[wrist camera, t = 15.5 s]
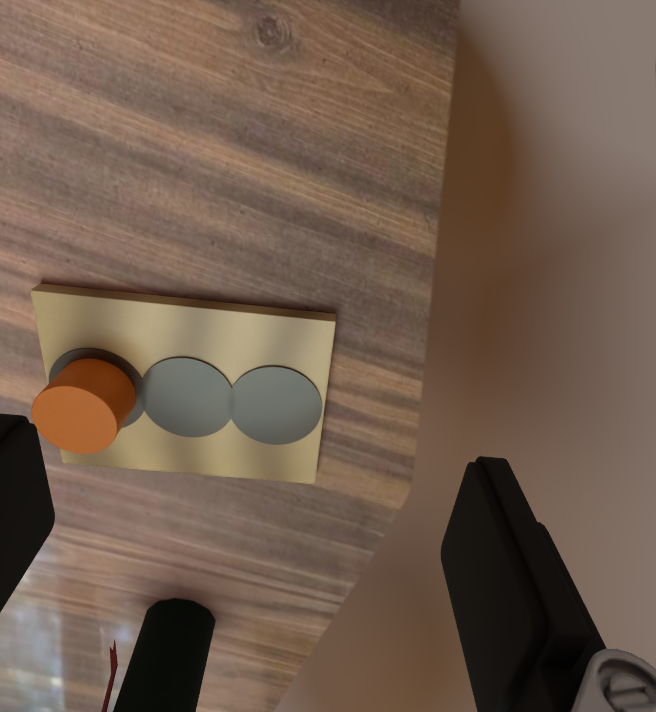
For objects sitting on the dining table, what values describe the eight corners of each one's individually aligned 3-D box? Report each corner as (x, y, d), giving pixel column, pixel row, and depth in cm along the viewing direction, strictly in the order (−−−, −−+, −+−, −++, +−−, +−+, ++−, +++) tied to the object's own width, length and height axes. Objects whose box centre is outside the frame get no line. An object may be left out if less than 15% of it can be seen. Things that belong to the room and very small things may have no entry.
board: (335, 313, 37) (336, 322, 36) (315, 472, 45) (314, 485, 43) (40, 283, 36) (28, 291, 35) (70, 451, 44) (61, 464, 42)
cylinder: (133, 362, 37) (113, 390, 34) (138, 425, 40) (120, 457, 37) (52, 354, 37) (24, 382, 34) (64, 418, 40) (38, 450, 36)
